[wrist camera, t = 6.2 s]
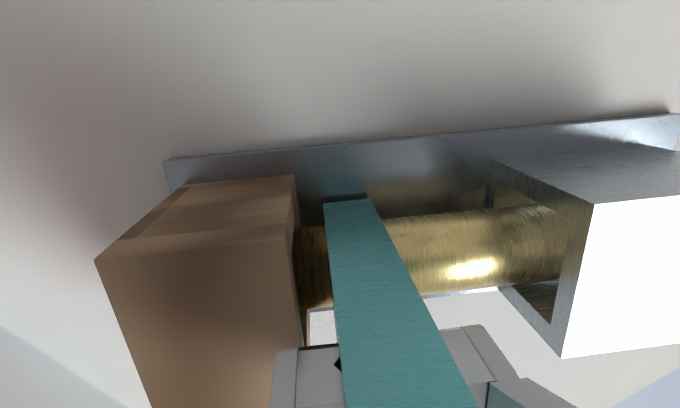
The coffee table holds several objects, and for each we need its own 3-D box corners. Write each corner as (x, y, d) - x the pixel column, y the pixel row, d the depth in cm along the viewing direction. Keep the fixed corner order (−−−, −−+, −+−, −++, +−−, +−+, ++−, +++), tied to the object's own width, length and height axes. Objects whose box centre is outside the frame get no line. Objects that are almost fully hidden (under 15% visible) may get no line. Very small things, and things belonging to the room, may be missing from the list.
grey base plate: (671, 112, 15) (893, 133, 9) (628, 266, 18) (777, 353, 12) (168, 158, 13) (69, 214, 8) (211, 316, 16) (160, 440, 11)
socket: (294, 170, 14) (284, 239, 8) (309, 288, 16) (310, 411, 10) (187, 180, 14) (93, 259, 8) (216, 298, 16) (161, 432, 10)
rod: (563, 178, 14) (976, 340, 5) (550, 249, 16) (870, 474, 7) (261, 209, 14) (175, 454, 5) (274, 281, 15) (224, 582, 6)
